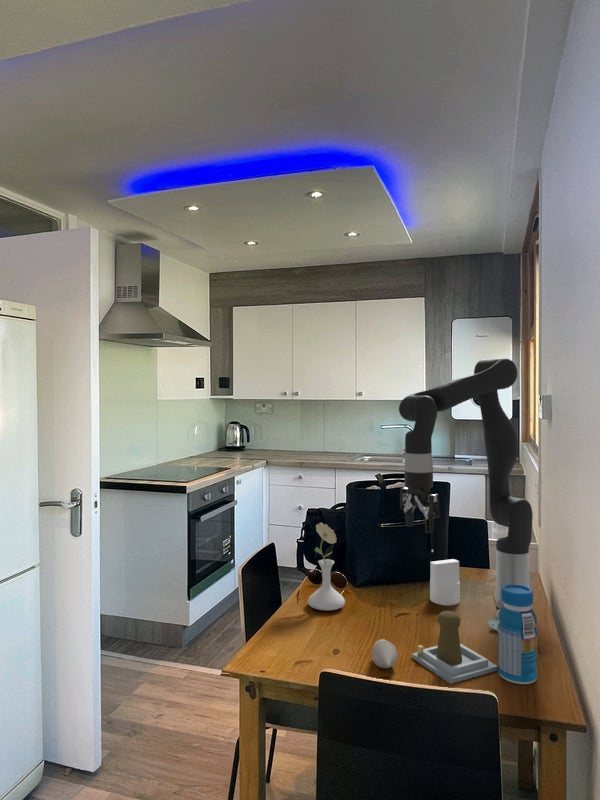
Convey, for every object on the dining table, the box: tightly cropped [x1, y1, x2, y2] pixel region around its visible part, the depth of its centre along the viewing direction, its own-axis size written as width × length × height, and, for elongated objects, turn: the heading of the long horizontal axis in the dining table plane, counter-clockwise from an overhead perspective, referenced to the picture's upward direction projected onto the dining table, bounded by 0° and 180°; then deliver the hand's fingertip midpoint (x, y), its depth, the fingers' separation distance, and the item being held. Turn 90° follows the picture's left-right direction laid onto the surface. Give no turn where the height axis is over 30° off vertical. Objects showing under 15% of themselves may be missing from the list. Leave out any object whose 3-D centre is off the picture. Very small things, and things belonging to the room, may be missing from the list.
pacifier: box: [488, 608, 500, 633], centre depth 151 cm, size 7×6×6 cm
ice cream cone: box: [371, 639, 399, 669], centre depth 130 cm, size 6×6×15 cm
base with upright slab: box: [429, 558, 461, 606], centre depth 175 cm, size 9×9×12 cm
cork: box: [436, 610, 462, 665], centre depth 133 cm, size 6×6×11 cm
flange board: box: [411, 643, 498, 685], centre depth 133 cm, size 14×14×3 cm
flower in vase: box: [307, 522, 346, 612], centre depth 170 cm, size 13×11×25 cm
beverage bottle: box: [497, 584, 538, 685], centre depth 127 cm, size 8×8×20 cm
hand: (419, 529), depth 151 cm, fingers open, 8 cm apart
